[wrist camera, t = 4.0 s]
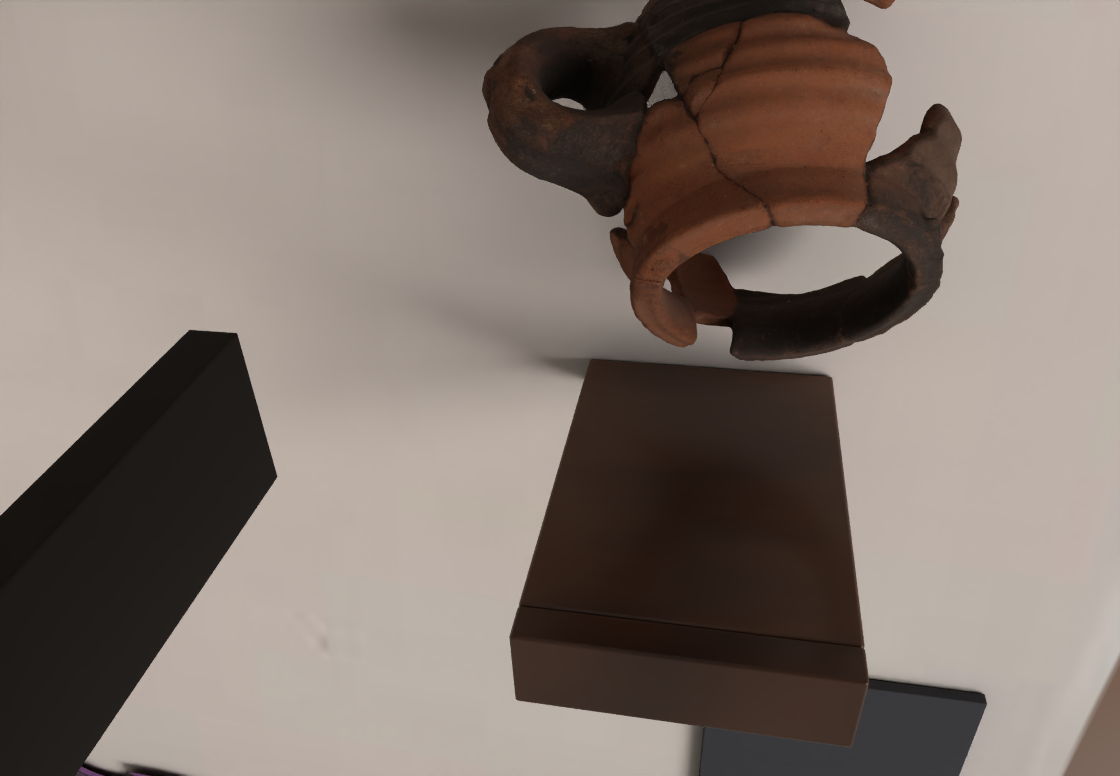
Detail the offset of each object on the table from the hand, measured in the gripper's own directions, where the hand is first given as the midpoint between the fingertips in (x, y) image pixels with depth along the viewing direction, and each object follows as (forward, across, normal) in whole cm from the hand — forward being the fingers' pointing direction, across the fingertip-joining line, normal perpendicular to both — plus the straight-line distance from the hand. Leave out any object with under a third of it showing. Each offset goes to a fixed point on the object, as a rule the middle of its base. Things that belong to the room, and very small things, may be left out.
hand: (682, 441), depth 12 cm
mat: (+15, +7, -29) cm, 33 cm away
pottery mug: (+15, 0, 0) cm, 15 cm away
